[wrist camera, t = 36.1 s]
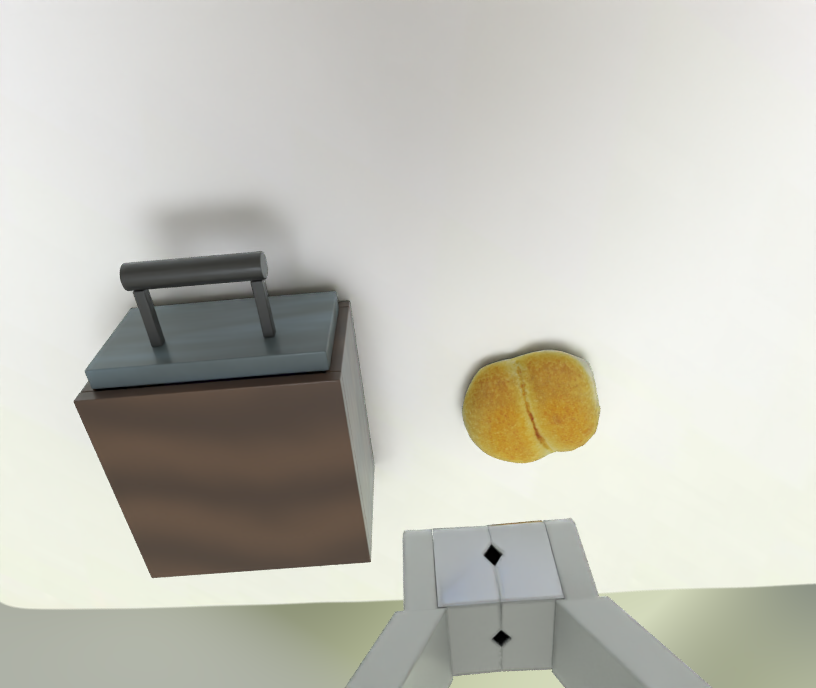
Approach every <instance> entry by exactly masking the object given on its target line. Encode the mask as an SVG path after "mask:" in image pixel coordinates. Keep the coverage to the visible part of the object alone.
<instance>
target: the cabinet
mask: <svg viewBox="0 0 816 688" xmlns="http://www.w3.org/2000/svg"><path fill="white" fill-rule="evenodd" d="M338 304H339V311H338V317H337V324H336V330H335V337H334V343H333V350H332V356H331V363H330V369H329V370H326V373H318V374H305V375H293V376H280V377H268V378H256V379H243V380H231V381H218V382H206V383H194V384H181V385H169V386H156V387H144V388H132V389H127V387H128V386H127V387H115V388H102V389H92V388H91V385H90V383H89V381H88V382H87V384H86V385H85V386H84V388H83V389H82V391H81V393H79V394H78V396H77V397H76V399H75V400H74V404H75V406H76V408H77V411H78V413H79V415H80V417H81V420H82V422H83V424H84V426H85V429H86V431H87V433H88V435H89V438H90V440H91V442H92V444H93V447H94V449H95V451H96V453H97V456H98V458H99V460H100V462H101V465H102V467H103V469H104V471H105V474H106V476H107V478H108V480H109V483H110V485H111V487H112V489H113V492H114V494H115V496H116V498H117V501H118V503H119V505H120V507H121V510H122V512H123V514H124V516H125V519H126V521H127V523H128V525H129V528H130V530H131V532H132V534H133V537H134V539H135V541H136V543H137V546H138V548H139V550H140V552H141V555H142V557H143V559H144V562H145V564H146V566H147V568H148V571H149V573H150V575H151V577H152V578H159V577H173V576H187V575H201V574H214V573H228V572H242V571H256V570H270V569H283V568H297V567H311V566H325V565H338V564H352V563H366V562H371V545H372V518H373V491H374V460H373V453H372V446H371V440H370V433H369V426H368V419H367V413H366V406H365V399H364V392H363V385H362V379H361V372H360V365H359V358H358V352H357V345H356V338H355V331H354V324H353V318H352V311H351V304H350V301H341V302H338Z"/></svg>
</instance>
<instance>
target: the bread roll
mask: <svg viewBox="0 0 816 688" xmlns="http://www.w3.org/2000/svg"><path fill="white" fill-rule="evenodd" d="M599 414H600V406H599V402H598V395H597V393H596V385H595V381H594V377H593V372H592V369H591V366H590V364H589V363H588V362H587V361H586V360H584V359H582V358H579V357H576V356H573V355H571V354H569V353H566V352H562V351H557V350H541V351H535V352H531V353H527V354H524V355H520V356H518V357H515V358H512V359H505V360H501V361H497V362H494V363H491V364H489V365H486V366H484V367H482V368H481V369H480V370H479V371H478V372H477V373H476V375H475V376H474V378H473V379H472V381H471V383H470V385H469V387H468V390H467V392H466V395H465V398H464V403H463V408H462V415H463V421H464V424H465V427H466V429H467V432H468V434H469V436H470V438H471V439H472V441H473V442H474V443H475V444H476V445H477V446H478V447H479V448H480V449H481V450H482V451H483V452H485V453H486V454H488V455H490V456H492V457H494V458H497V459H500V460H504V461H508V462H514V463H528V462H533V461H536V460H538V459H541V458H543V457H544V456H546V455H548V454H550V453H553V452H556V451H558V452H565V451H572V450H574V449H576V448H578V447H581V446H583V445H584V444H585V443H586V442H587V441H588V440H589V439H590V438H591V437H592V436H593V435H594V433H595V432H596V429H597V425H598V420H599Z"/></svg>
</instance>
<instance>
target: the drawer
mask: <svg viewBox="0 0 816 688" xmlns="http://www.w3.org/2000/svg"><path fill="white" fill-rule="evenodd" d="M267 273H268V268H267V261H266V257H265V254H264V252H262V251H259V252H248V253H236V254H224V255H213V256H201V257H189V258H178V259H166V260H155V261H143V262H131V263H124V264H122V266H121V268H120V279H121V283H122V285H123V287H124V289H125V290H127V291H133V294H134V297H135V300H136V302H137V305H138V308H131V309H130V310H129V312H128V313H127V314H126V316H125V317H124V318H123V320H122V321H121V322H120V324H119V325H118V326H117V328H116V329H115V330H114V332H113V333H112V335H111V336H110V337H109V339H108V340H107V341H106V343H105V344H104V345H103V347H102V348H101V349H100V351H99V352H98V353H97V355H96V356H95V357H94V359H93V360H92V361H91V363H90V364H89V366H88V367H87V368H86V370H85V374H86V376H87V378H88V381H89V383H90V385H91V388H92V389H102V388H115V387H127V386H128V387H127V389H132V388H144V387H156V386H165V385H164V383H177V382H189V381H201V380H214V379H226V378H238V377H251V376H263V375H276V374H288V373H300V372H306V374H318V373H326V370H329V369H330V363H331V356H332V350H333V343H334V337H335V330H336V324H337V317H338V311H339V304H338V298H337V292H336V291H329V292H318V293H306V294H294V295H282V296H270V297H268V293H267V288H266V284H265V279H266V278H267ZM241 281H251V286H252V290H253V294H254V298H246V299H234V300H222V301H210V302H199V303H187V304H175V305H163V306H154V305H153V302H152V299H151V296H150V293H149V290H148V289H158V288H170V287H182V286H194V285H206V284H217V283H229V282H241Z"/></svg>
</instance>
